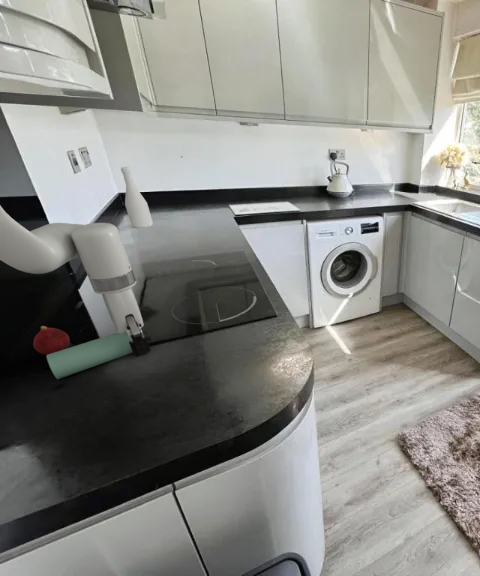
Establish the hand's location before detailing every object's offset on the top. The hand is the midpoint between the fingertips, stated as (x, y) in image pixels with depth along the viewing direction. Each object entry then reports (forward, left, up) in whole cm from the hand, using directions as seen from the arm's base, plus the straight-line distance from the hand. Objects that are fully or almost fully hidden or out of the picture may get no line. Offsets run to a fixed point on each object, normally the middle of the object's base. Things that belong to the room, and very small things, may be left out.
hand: (139, 346), depth 79 cm
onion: (-17, -1, -1) cm, 17 cm away
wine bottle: (-60, +115, -1) cm, 129 cm away
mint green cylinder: (-5, -4, 0) cm, 6 cm away
